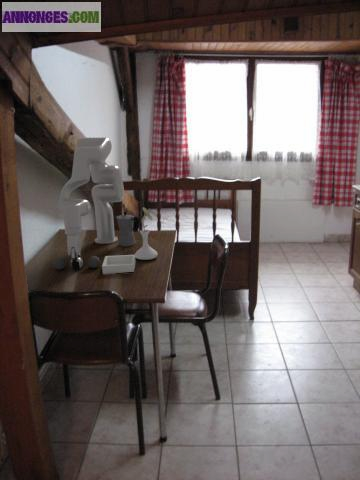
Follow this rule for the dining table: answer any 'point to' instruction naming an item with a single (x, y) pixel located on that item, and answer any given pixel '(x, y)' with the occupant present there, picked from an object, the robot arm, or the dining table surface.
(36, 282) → the dining table surface
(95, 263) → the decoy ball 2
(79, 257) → the steel ball
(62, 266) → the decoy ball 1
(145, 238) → the flower in vase
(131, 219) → the coffeepot
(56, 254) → the dining table surface
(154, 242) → the dining table surface
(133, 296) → the dining table surface
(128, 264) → the tray
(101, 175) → the robot arm
